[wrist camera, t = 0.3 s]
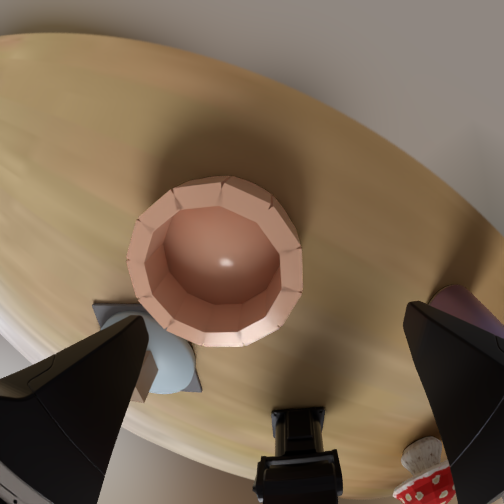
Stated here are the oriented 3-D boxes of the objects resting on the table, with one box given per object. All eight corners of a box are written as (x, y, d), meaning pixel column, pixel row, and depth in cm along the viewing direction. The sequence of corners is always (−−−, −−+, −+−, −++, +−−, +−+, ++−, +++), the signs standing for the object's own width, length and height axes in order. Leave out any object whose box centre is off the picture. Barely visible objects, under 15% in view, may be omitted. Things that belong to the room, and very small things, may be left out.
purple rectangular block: (419, 297, 24) (498, 409, 10) (464, 272, 22) (555, 361, 8) (424, 338, 26) (483, 444, 12) (466, 315, 24) (535, 404, 10)
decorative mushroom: (463, 425, 33) (487, 482, 19) (412, 463, 38) (426, 518, 24) (427, 420, 31) (453, 494, 17) (368, 462, 36) (380, 529, 22)
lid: (205, 389, 29) (194, 430, 24) (122, 382, 30) (104, 416, 25) (182, 310, 25) (162, 352, 20) (90, 309, 26) (60, 341, 21)
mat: (202, 389, 30) (201, 392, 29) (128, 383, 31) (127, 385, 30) (177, 303, 25) (176, 306, 25) (93, 303, 26) (91, 305, 26)
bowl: (298, 308, 25) (303, 343, 20) (170, 312, 26) (152, 345, 21) (291, 169, 21) (297, 175, 16) (142, 186, 22) (112, 198, 17)
